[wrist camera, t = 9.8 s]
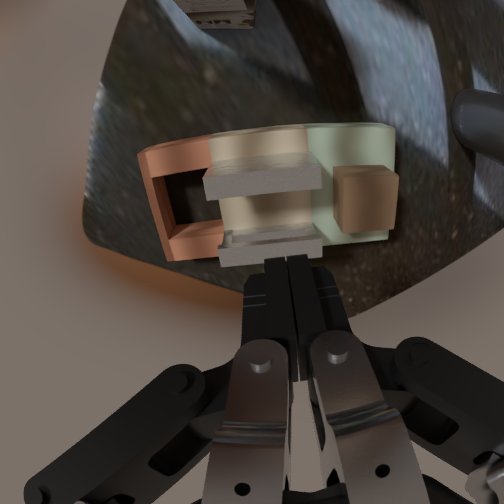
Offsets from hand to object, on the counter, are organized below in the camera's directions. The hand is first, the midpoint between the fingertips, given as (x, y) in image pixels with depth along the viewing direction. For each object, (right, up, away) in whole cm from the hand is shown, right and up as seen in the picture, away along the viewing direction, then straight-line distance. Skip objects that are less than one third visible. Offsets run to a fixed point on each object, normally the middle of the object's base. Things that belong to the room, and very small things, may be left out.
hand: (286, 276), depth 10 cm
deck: (+1, +9, +23) cm, 25 cm away
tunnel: (0, +7, +20) cm, 21 cm away
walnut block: (+11, +8, +19) cm, 23 cm away
